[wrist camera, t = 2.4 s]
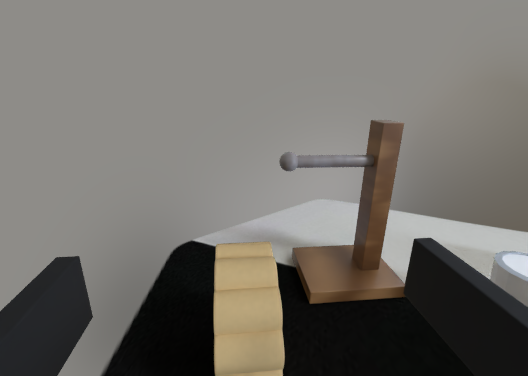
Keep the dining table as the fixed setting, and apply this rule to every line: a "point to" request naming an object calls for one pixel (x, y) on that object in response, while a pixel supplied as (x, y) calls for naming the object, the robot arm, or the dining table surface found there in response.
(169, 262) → the dining table surface
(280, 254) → the dining table surface
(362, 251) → the hook stand
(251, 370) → the yellow scalloped ring
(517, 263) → the white ribbed cup
